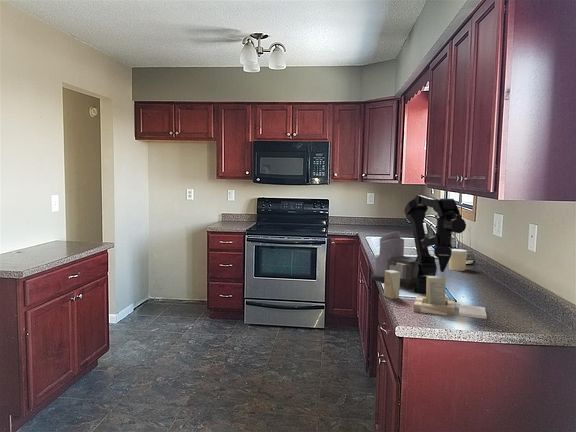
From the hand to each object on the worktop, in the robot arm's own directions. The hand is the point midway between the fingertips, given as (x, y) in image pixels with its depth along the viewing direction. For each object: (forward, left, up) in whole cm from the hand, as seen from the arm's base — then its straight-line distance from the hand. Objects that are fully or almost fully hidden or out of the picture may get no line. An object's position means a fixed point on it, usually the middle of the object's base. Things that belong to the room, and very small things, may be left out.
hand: (442, 269), depth 176 cm
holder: (+11, -2, -13) cm, 17 cm away
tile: (+11, +11, -13) cm, 20 cm away
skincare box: (+11, -2, -13) cm, 17 cm away
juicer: (-27, -21, -13) cm, 37 cm away
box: (+1, -19, -13) cm, 23 cm away
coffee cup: (-69, +6, -13) cm, 71 cm away
